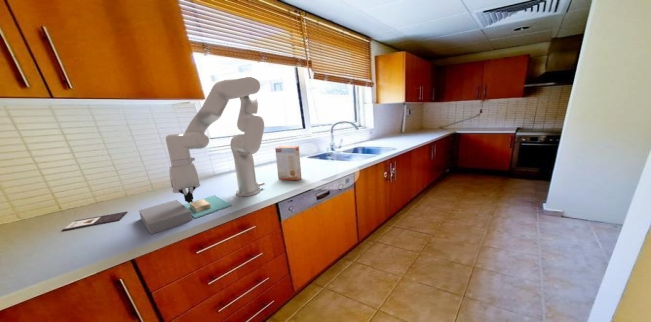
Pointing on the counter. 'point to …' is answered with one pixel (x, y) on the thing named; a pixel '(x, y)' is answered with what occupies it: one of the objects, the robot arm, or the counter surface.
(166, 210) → the block
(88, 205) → the counter surface
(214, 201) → the mat
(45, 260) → the counter surface
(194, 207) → the tan rectangular block
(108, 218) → the chocolate bar
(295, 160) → the cracker box
